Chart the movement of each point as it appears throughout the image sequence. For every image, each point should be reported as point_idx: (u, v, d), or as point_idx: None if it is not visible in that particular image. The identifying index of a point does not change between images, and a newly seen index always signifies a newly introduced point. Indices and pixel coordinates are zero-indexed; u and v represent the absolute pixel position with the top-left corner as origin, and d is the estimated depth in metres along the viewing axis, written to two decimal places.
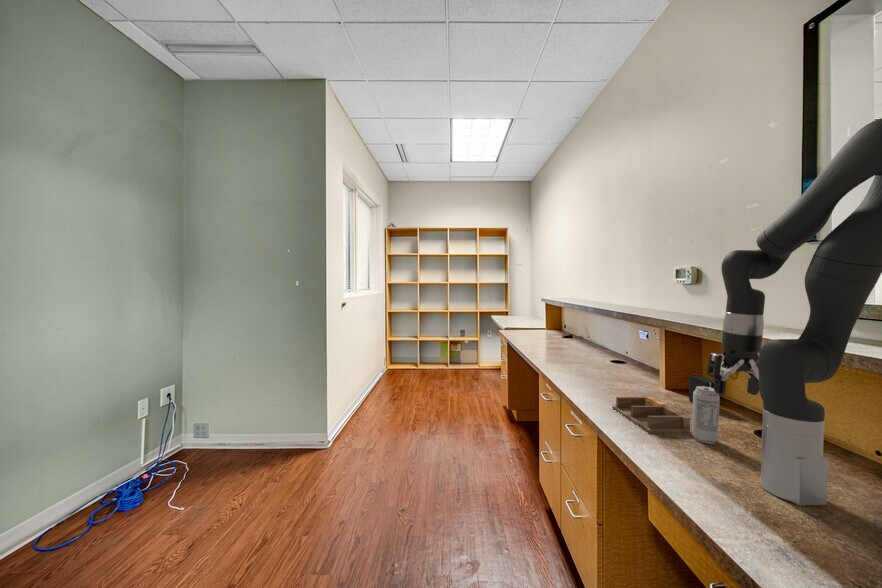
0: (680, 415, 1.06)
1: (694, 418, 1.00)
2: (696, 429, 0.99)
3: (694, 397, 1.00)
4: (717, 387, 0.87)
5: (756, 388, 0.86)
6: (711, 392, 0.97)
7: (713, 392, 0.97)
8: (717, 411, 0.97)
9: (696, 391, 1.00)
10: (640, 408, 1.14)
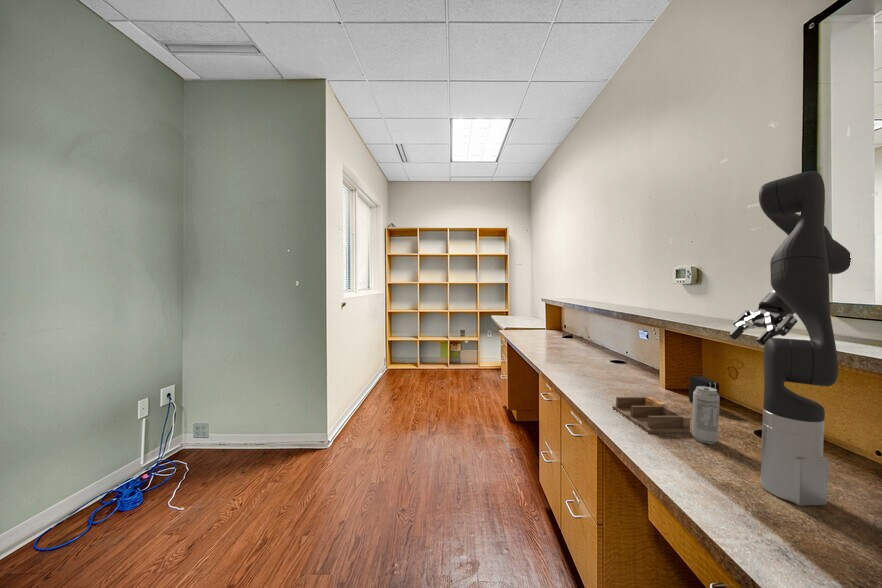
0: (680, 415, 1.06)
1: (694, 418, 1.00)
2: (696, 429, 0.99)
3: (694, 397, 1.00)
4: None
5: (761, 335, 0.95)
6: (711, 392, 0.97)
7: (713, 392, 0.97)
8: (717, 411, 0.97)
9: (696, 391, 1.00)
10: (640, 408, 1.14)
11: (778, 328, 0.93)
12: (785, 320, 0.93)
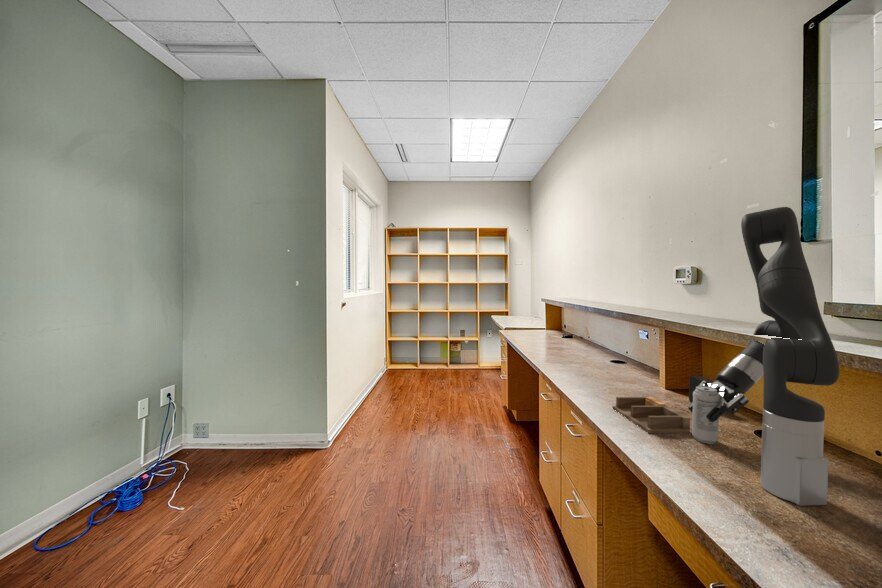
0: (680, 415, 1.06)
1: (694, 418, 1.00)
2: (696, 429, 0.99)
3: (694, 397, 1.00)
4: None
5: (710, 412, 0.96)
6: (711, 392, 0.97)
7: (713, 392, 0.97)
8: None
9: (696, 391, 1.00)
10: (640, 408, 1.14)
11: (726, 407, 0.94)
12: (735, 399, 0.93)
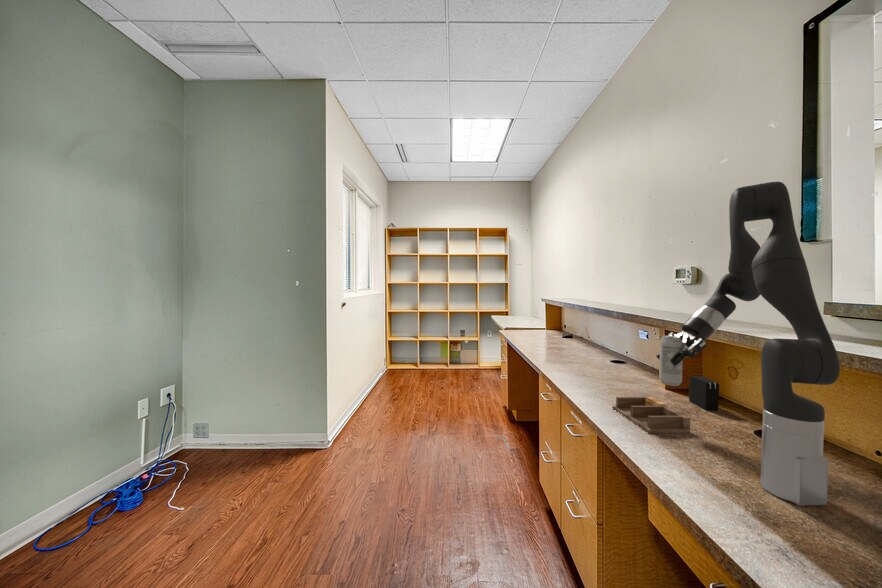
0: (680, 415, 1.06)
1: (660, 364, 1.10)
2: (662, 374, 1.09)
3: (660, 345, 1.10)
4: None
5: (674, 356, 1.07)
6: (675, 339, 1.07)
7: (676, 339, 1.07)
8: None
9: (662, 339, 1.10)
10: (640, 408, 1.14)
11: (686, 351, 1.04)
12: (695, 344, 1.04)
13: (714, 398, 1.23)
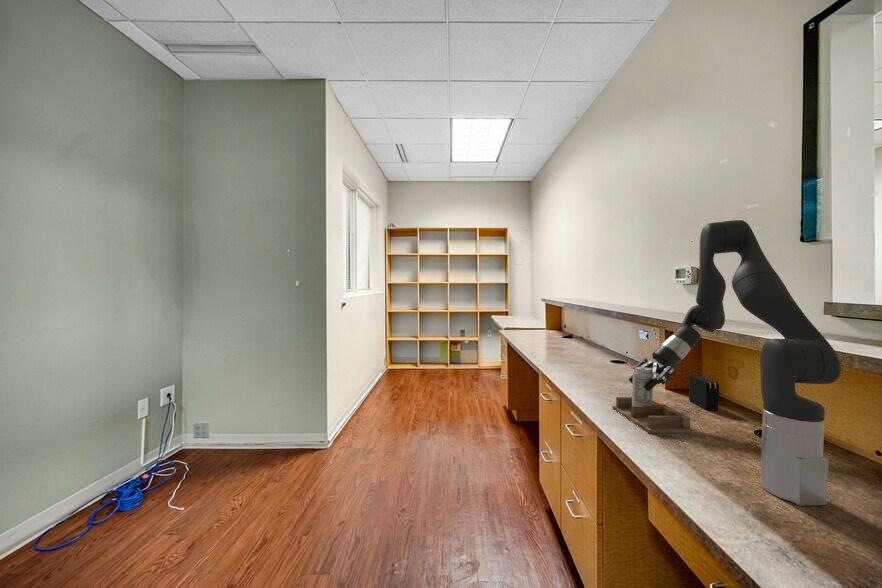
0: (680, 415, 1.06)
1: (633, 393, 1.19)
2: (634, 403, 1.18)
3: (633, 376, 1.19)
4: None
5: (647, 382, 1.14)
6: (646, 371, 1.16)
7: (647, 371, 1.16)
8: None
9: (634, 371, 1.19)
10: (640, 408, 1.14)
11: (658, 378, 1.12)
12: (665, 371, 1.12)
13: (714, 398, 1.23)
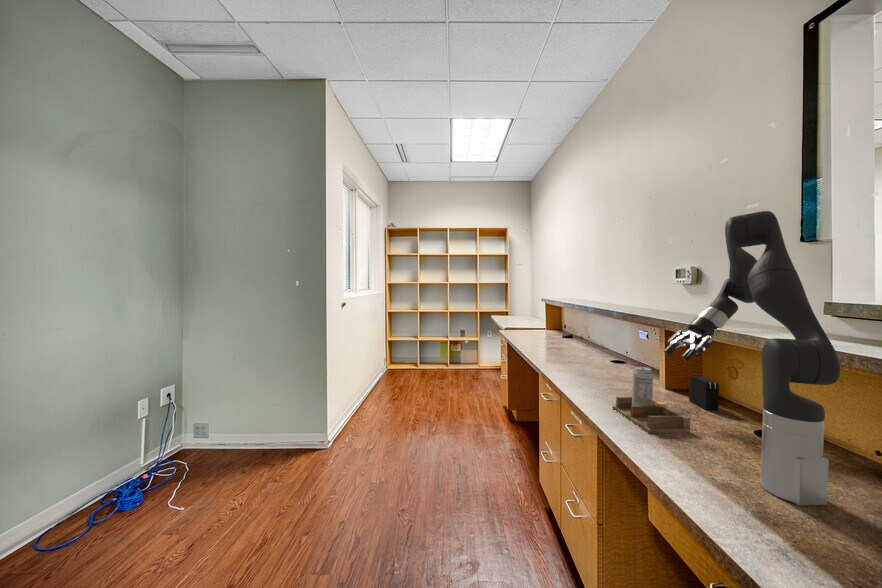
0: (680, 415, 1.06)
1: (633, 393, 1.19)
2: (634, 402, 1.18)
3: (633, 376, 1.19)
4: None
5: (685, 352, 1.15)
6: (645, 371, 1.16)
7: (647, 371, 1.16)
8: (650, 387, 1.16)
9: (634, 371, 1.19)
10: (640, 408, 1.14)
11: (698, 347, 1.12)
12: (704, 340, 1.12)
13: (714, 398, 1.23)
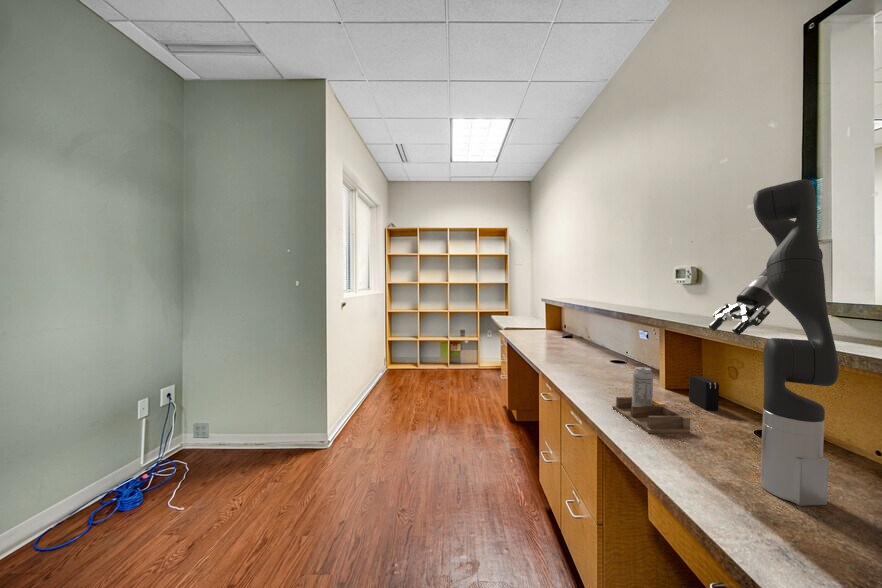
0: (680, 415, 1.06)
1: (633, 393, 1.19)
2: (634, 402, 1.18)
3: (633, 376, 1.19)
4: None
5: (736, 325, 1.02)
6: (645, 371, 1.16)
7: (647, 371, 1.16)
8: (650, 387, 1.16)
9: (634, 371, 1.19)
10: (640, 408, 1.14)
11: (752, 319, 1.00)
12: (759, 311, 1.00)
13: (714, 398, 1.23)
